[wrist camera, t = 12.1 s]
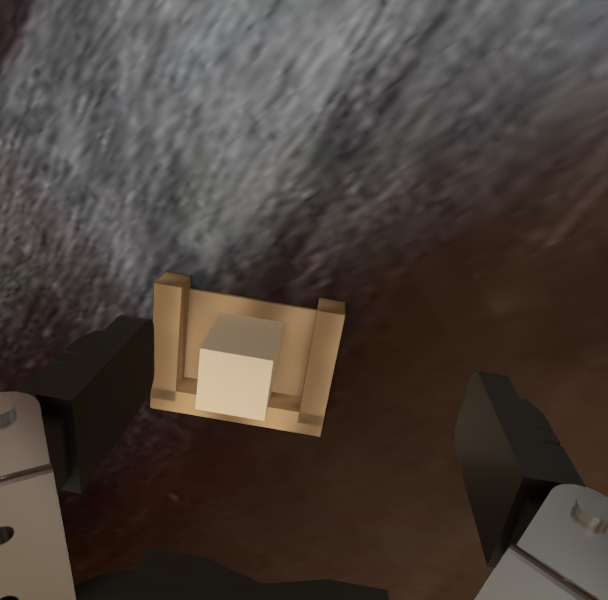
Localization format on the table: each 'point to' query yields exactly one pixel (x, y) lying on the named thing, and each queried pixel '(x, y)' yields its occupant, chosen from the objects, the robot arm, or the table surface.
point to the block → (238, 366)
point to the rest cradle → (290, 365)
